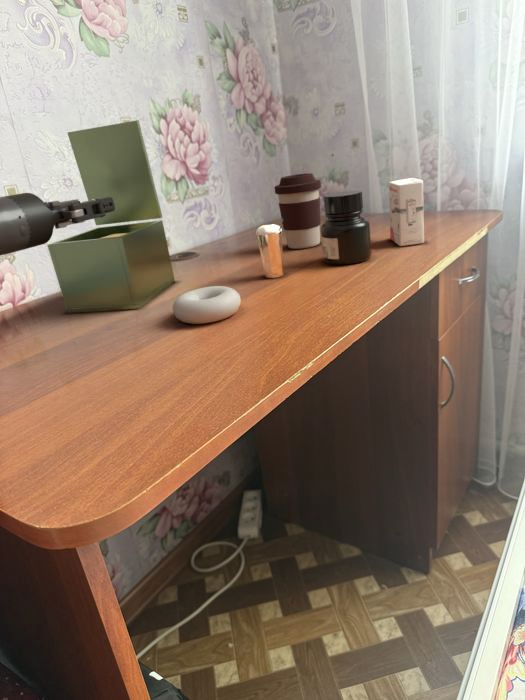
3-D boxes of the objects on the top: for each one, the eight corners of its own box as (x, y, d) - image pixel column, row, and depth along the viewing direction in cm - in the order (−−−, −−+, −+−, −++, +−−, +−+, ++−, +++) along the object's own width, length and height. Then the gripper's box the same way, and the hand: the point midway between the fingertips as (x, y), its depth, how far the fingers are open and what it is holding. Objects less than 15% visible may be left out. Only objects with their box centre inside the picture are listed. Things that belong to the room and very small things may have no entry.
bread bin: (138, 308, 82) (121, 237, 77) (67, 313, 86) (47, 244, 81) (175, 282, 96) (162, 220, 91) (112, 287, 99) (97, 227, 95)
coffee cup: (335, 241, 111) (329, 170, 105) (305, 252, 105) (297, 177, 99) (302, 239, 118) (295, 173, 112) (272, 249, 112) (263, 180, 106)
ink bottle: (323, 256, 99) (318, 194, 94) (368, 251, 97) (365, 187, 93) (323, 268, 90) (317, 200, 85) (373, 263, 88) (370, 193, 84)
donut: (217, 330, 67) (255, 305, 75) (212, 306, 66) (251, 283, 73) (161, 325, 72) (202, 302, 80) (156, 303, 71) (198, 282, 79)
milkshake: (283, 279, 87) (276, 221, 83) (257, 279, 89) (249, 222, 86) (295, 272, 90) (289, 216, 86) (270, 272, 93) (263, 217, 89)
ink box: (389, 239, 105) (387, 180, 101) (413, 236, 105) (411, 177, 101) (399, 247, 97) (397, 184, 93) (425, 243, 97) (424, 180, 93)
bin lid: (136, 120, 83) (138, 120, 84) (67, 132, 87) (69, 132, 88) (161, 218, 91) (162, 217, 91) (95, 225, 94) (97, 224, 95)
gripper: (33, 192, 65) (119, 177, 78) (-31, 201, 72) (58, 185, 85) (50, 249, 68) (131, 226, 81) (-13, 252, 75) (70, 230, 88)
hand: (93, 205), depth 83 cm, fingers open, 8 cm apart
